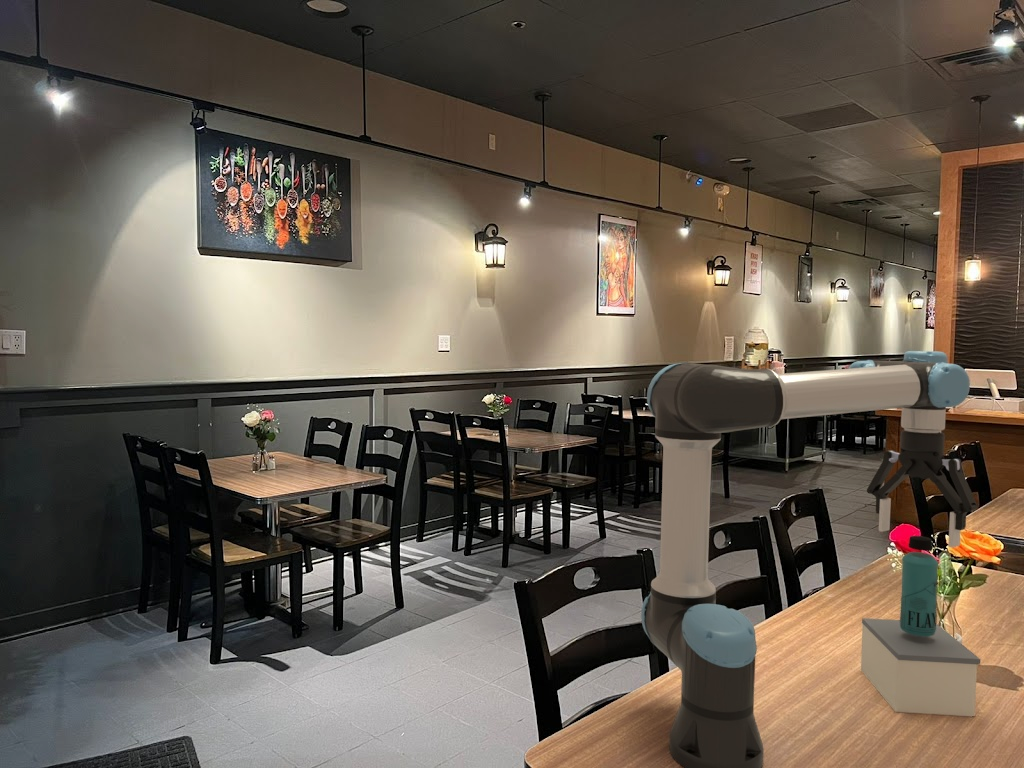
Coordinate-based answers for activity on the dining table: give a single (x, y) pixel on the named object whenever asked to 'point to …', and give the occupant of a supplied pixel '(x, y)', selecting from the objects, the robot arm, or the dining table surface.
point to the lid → (919, 643)
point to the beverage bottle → (919, 589)
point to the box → (918, 681)
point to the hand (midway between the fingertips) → (917, 538)
